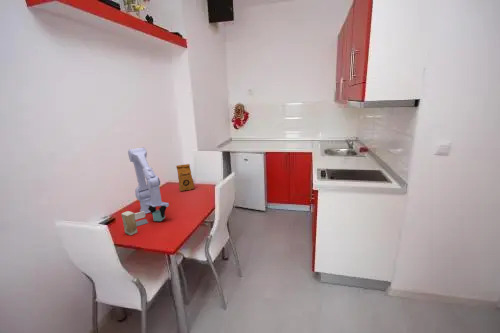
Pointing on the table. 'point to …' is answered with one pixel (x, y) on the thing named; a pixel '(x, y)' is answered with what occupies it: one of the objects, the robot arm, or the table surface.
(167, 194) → the table surface
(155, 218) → the teal block
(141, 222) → the mat
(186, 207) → the table surface
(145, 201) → the robot arm
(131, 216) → the skincare box
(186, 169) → the coffee package
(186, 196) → the table surface
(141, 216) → the light grey piece
